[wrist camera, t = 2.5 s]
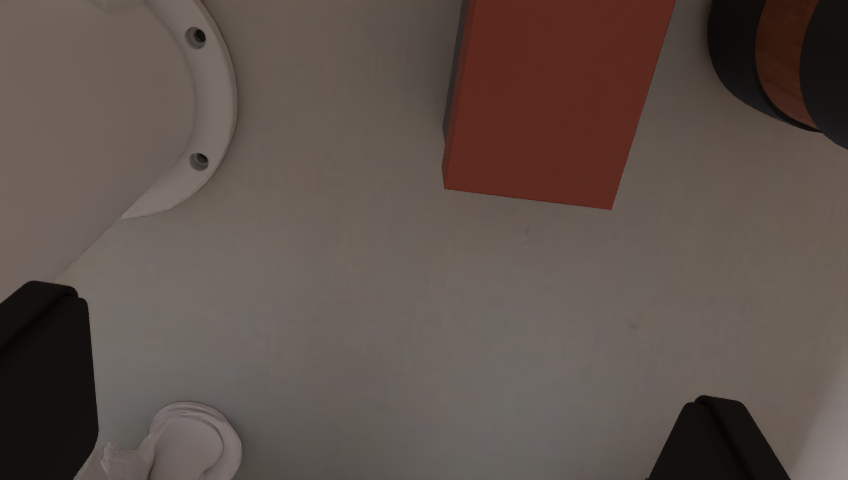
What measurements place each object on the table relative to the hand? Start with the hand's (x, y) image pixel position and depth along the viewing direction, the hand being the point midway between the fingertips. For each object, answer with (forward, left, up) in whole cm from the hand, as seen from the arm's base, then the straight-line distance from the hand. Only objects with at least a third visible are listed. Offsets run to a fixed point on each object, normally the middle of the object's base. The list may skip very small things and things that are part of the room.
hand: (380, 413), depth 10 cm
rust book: (-3, +5, -16) cm, 17 cm away
